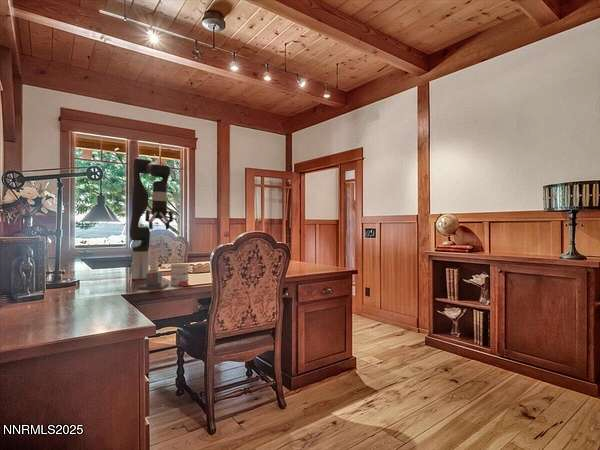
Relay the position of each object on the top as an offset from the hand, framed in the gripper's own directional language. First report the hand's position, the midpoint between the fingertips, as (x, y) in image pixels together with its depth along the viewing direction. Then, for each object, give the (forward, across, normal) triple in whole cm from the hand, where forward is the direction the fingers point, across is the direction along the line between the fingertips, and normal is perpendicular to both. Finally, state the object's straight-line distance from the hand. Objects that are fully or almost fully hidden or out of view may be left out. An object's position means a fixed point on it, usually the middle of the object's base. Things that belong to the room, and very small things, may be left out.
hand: (159, 229), depth 193 cm
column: (+24, 0, +7) cm, 25 cm away
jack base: (+31, 0, +7) cm, 32 cm away
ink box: (+31, -11, -2) cm, 33 cm away
